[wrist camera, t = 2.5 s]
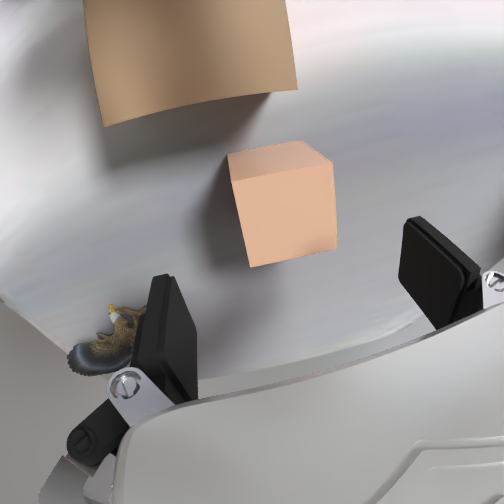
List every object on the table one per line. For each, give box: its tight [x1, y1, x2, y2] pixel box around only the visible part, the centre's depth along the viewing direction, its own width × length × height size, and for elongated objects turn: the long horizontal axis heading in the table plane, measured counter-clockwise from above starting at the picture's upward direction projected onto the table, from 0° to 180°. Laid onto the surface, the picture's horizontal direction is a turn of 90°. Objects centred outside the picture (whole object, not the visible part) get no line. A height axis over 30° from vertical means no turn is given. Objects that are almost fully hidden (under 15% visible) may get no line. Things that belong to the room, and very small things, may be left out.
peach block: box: [227, 140, 337, 268], centre depth 18 cm, size 5×5×6 cm
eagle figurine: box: [67, 304, 147, 376], centre depth 23 cm, size 8×7×9 cm
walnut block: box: [83, 0, 298, 127], centre depth 12 cm, size 9×9×6 cm
